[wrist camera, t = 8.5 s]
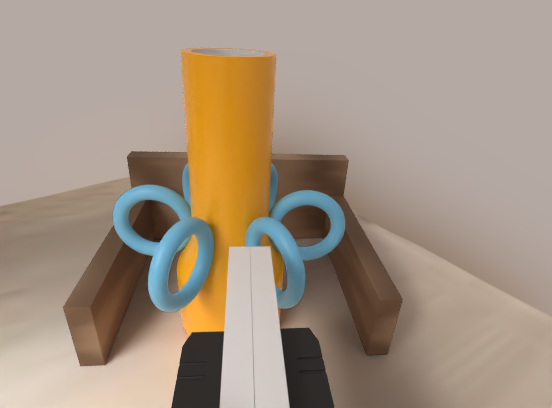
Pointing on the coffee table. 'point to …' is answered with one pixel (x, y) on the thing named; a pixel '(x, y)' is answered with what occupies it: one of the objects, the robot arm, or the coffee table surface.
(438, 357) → the coffee table surface
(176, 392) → the robot arm
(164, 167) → the pocket
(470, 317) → the coffee table surface
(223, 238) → the cylinder
